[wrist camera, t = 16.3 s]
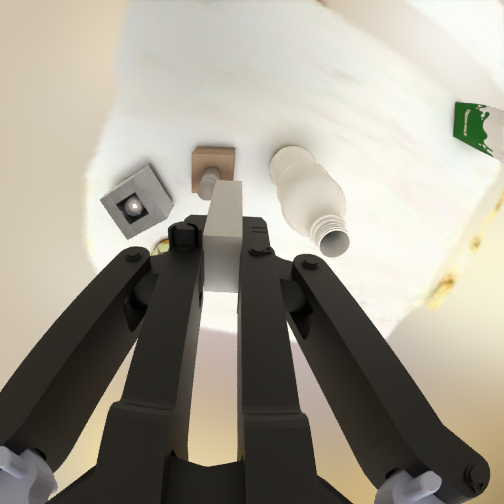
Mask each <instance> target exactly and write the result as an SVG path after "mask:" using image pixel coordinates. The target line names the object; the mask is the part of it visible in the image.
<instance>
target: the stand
mask: <svg viewBox="0 0 504 504" xmlns="http://www.w3.org/2000/svg"><path fill="white" fill-rule="evenodd" d="M234 157H235V148H224V147H196V149H195V150H194V152H193V153H192V193H198V195H199V197H200V198H201V199H203V200H211V199H212V195H213V191H214V187H215V183H216V180H227V181H233V173H234Z"/></svg>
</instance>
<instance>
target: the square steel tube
mask: <svg viewBox="0 0 504 504" xmlns="http://www.w3.org/2000/svg"><path fill="white" fill-rule="evenodd" d="M134 192H135V193H136V194H137V196H138V197H139V199H140V200H141V202H142V203H143V205H144V206H145V208H144V209H143V210H142V211H141V212H140V214H139V215H137V216H131V215H129V214H128V213H127V212H126V210H125V203H126V202H127V201H128V199H129V198H130V197H129V196H130V195H131V194H133V193H134ZM100 201H101V202H102V204H103V205H104V207H105V208H106V210H107V211H108V213H109V214H110V216H111V217H112V219H113V220H114V221H115V223H116V224H117V226H118V227H119V229H120V230H121V231H122V233H123V234H124V236H125V237H126V238H127V240H128V239H130V238H132V237H134V236H136V235H138V234H139V233H141V232H143V231H145V230H147V229H149V228H150V227H152V226H154V225H156V224H158V223H160V222H162V221H164V220H166V219H167V218H168V216H169V214H170V212H171V210H172V208H173V206H174V205H173V203H172V202H171V200H170V199H169V197H168V195H167V194H166V192H165V191H164V189H163V187H162V186H161V184H160V183H159V181H158V179H157V178H156V176H155V174H154V173H153V171H152V170H151V168H150V166H149V165H147V166H146V167H144V168H142V169H141V170H139V171H138V172H136V173H134V174H133V175H131V176H130V177H128V178H127V179H125V180H124V181H122V182H120V183H119V184H117V185H116V186H114V187H113V188H112V189H111V190H109V191H108V192H107V193H106V194H105V195H104V196H103V197H102V198H101V199H100Z"/></svg>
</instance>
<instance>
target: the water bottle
mask: <svg viewBox="0 0 504 504" xmlns="http://www.w3.org/2000/svg"><path fill="white" fill-rule="evenodd" d="M270 174H271V178H272V181H273V182H274V184H275V185H276V186H277V197H278V200H279V202H280V203H281V209H282V213H283V216H284V218H285V220H286V222H287V223H288V225H289V226H290V227H291V228H292V229H293V230H294V231H296V232H297V233H299V234H301V235H303V236H306V237H310V239H311V241H312V242H313V244H314V245H316V247H317V248H318V251H319V252H320V254H321V255H323V256H324V257H326V258H328V259H335V258H339V257H341V256H343V255H344V254H345V253H346V252H347V251H348V250H349V248H350V245H351V239H350V236H349V233H348V231H347V227H346V223H345V222H344V220H343V219H344V216H345V211H346V201H345V196H344V193H343V191H342V189H341V187H340V186H339V184H338V183H337V182H336V181H335V180H334V179H332V178H331V177H330V176H329V174H328V172H327V171H326V170H325V169H324V168H323V167H322V166H321V165H320V164H318V163H317V162H316V160H315V158H314V157H313V156H312V155H311V154H310V153H309V152H308V151H307V150H305V149H303V148H301V147H298V146H288V147H284V148H282V149H281V150H280V151H279V152H278V153H277V154H276V155H275V156H274V157H273V158H272V160H271V163H270Z"/></svg>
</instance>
